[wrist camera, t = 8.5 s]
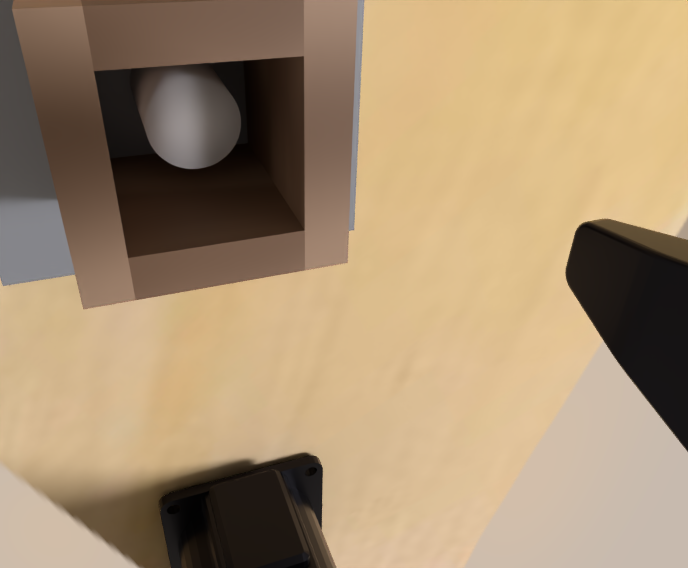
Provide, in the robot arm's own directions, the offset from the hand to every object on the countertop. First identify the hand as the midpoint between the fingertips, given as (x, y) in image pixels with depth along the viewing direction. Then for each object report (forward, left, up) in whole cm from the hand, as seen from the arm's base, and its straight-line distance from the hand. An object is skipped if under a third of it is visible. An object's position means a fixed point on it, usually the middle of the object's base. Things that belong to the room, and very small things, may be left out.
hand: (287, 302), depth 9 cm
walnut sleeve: (0, 0, -10) cm, 10 cm away
